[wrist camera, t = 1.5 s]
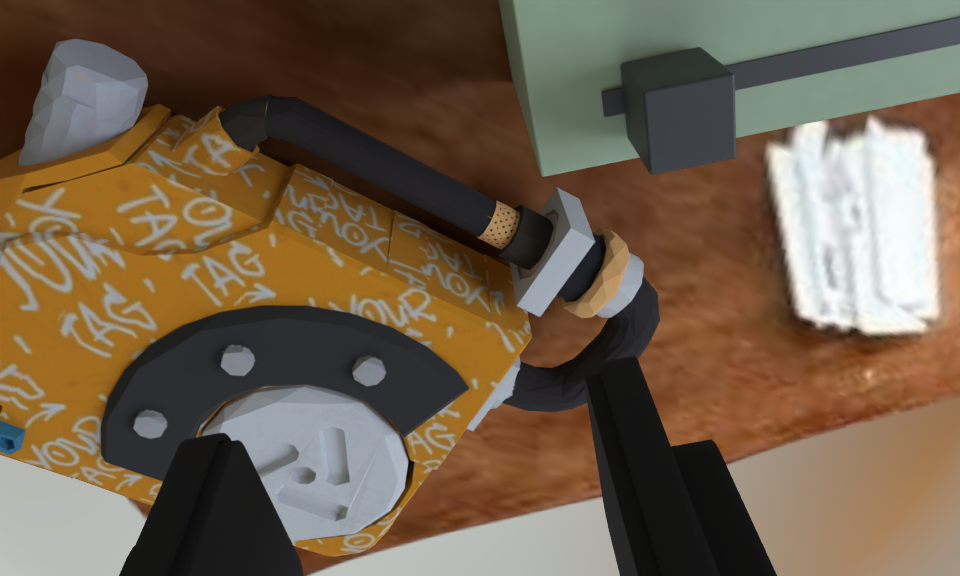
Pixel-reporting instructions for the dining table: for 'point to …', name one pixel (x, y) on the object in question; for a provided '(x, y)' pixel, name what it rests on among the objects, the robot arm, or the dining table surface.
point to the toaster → (734, 43)
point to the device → (272, 301)
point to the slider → (679, 110)
